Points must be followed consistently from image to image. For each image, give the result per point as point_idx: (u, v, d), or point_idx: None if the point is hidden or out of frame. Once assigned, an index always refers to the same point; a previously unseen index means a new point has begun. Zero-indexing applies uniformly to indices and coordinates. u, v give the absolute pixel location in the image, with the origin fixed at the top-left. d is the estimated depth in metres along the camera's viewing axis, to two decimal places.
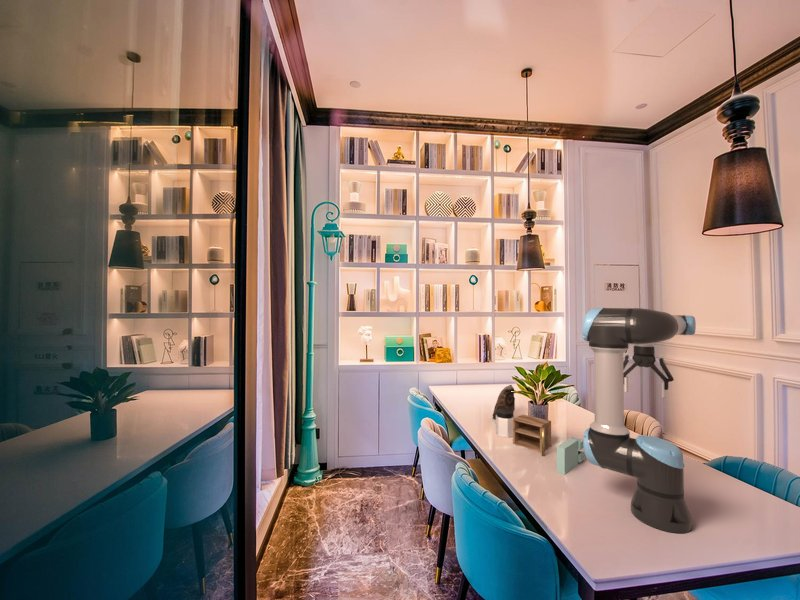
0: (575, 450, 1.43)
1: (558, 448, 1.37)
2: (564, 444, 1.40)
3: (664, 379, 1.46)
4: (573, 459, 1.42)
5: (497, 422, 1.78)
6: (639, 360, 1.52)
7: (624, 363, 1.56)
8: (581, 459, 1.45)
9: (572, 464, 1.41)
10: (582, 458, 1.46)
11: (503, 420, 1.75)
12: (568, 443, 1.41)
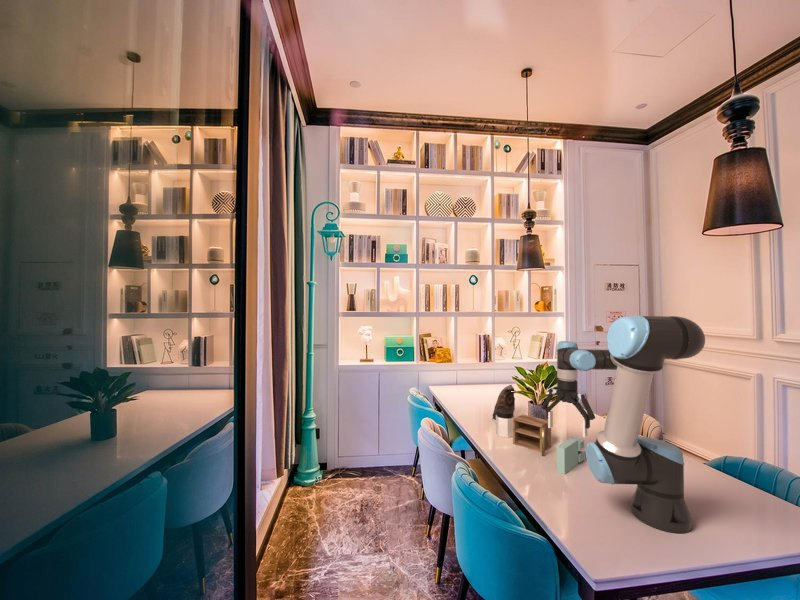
0: (575, 450, 1.43)
1: (558, 448, 1.37)
2: (564, 444, 1.40)
3: (585, 417, 1.36)
4: (573, 458, 1.42)
5: (497, 422, 1.78)
6: (562, 395, 1.42)
7: (548, 397, 1.47)
8: (581, 459, 1.45)
9: (572, 464, 1.41)
10: (582, 458, 1.46)
11: (503, 420, 1.75)
12: (568, 443, 1.41)
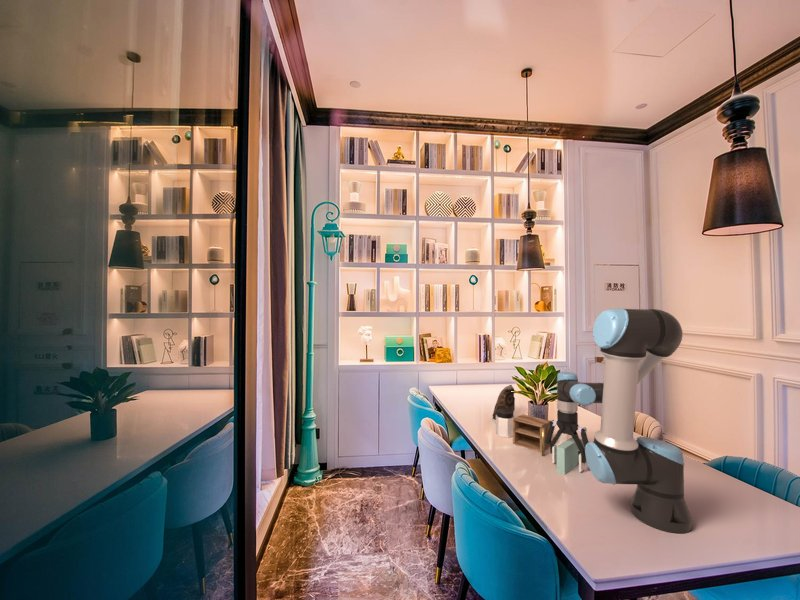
0: (575, 450, 1.43)
1: (558, 448, 1.37)
2: (564, 444, 1.40)
3: (581, 452, 1.36)
4: (573, 458, 1.42)
5: (497, 422, 1.78)
6: (562, 427, 1.41)
7: (550, 430, 1.46)
8: None
9: (572, 464, 1.41)
10: None
11: (503, 420, 1.75)
12: (568, 443, 1.41)
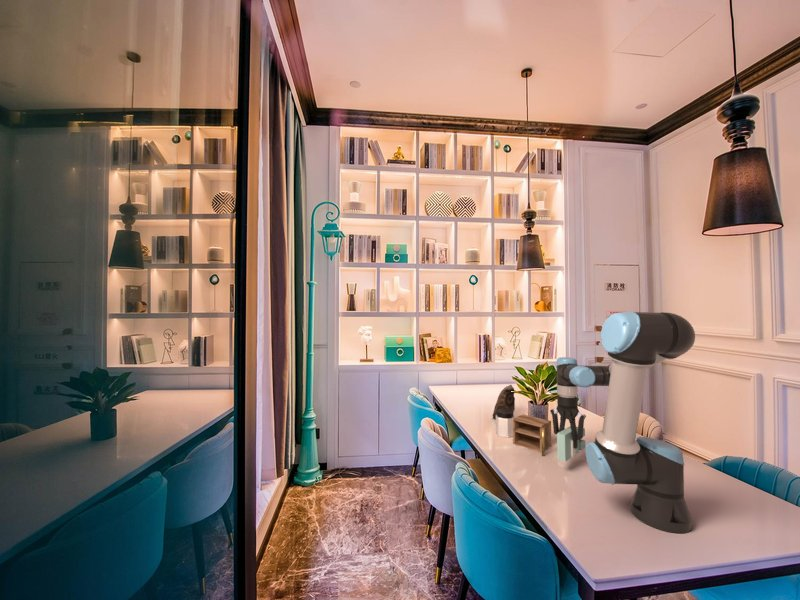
0: None
1: (558, 435, 1.37)
2: (564, 431, 1.40)
3: (573, 437, 1.38)
4: None
5: (497, 422, 1.78)
6: (562, 412, 1.41)
7: (553, 419, 1.44)
8: (582, 447, 1.45)
9: None
10: (583, 446, 1.46)
11: (503, 420, 1.75)
12: (569, 431, 1.41)
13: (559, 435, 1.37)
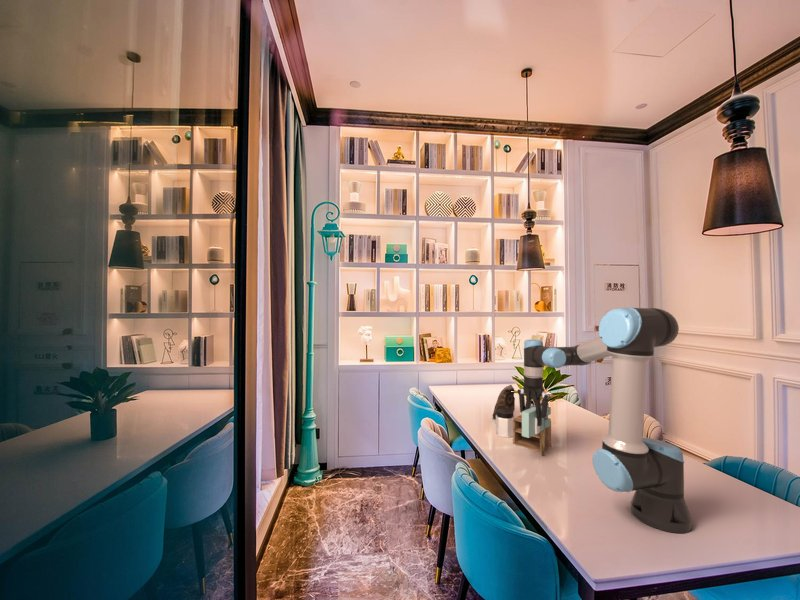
0: None
1: (523, 413, 1.43)
2: (529, 409, 1.46)
3: (538, 415, 1.44)
4: None
5: (497, 422, 1.78)
6: (528, 391, 1.47)
7: (520, 398, 1.50)
8: (547, 425, 1.51)
9: None
10: (548, 424, 1.52)
11: (503, 420, 1.75)
12: (534, 409, 1.47)
13: (524, 413, 1.43)
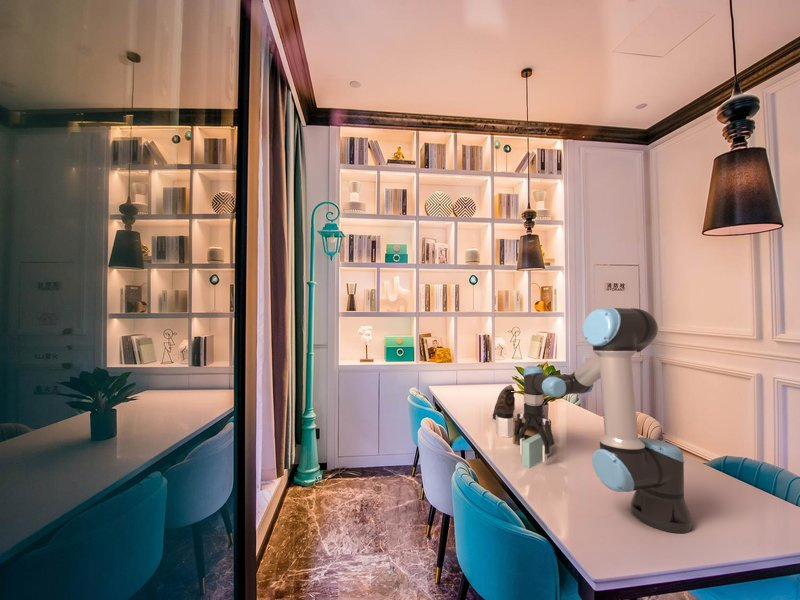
0: (541, 445, 1.48)
1: (523, 443, 1.43)
2: (530, 439, 1.45)
3: (545, 443, 1.42)
4: (539, 453, 1.47)
5: (497, 422, 1.78)
6: (528, 419, 1.47)
7: (517, 422, 1.51)
8: (547, 454, 1.51)
9: (538, 458, 1.46)
10: (549, 453, 1.51)
11: (503, 420, 1.75)
12: (534, 438, 1.46)
13: (524, 443, 1.42)
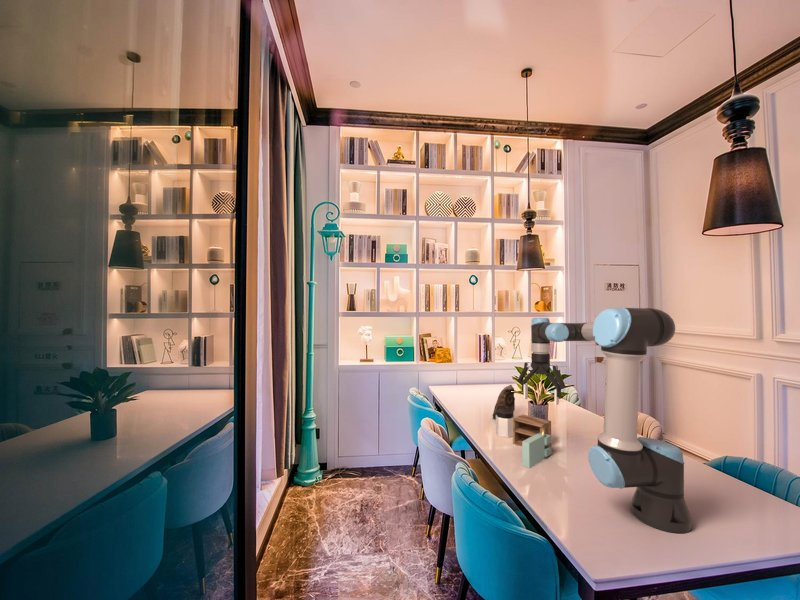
0: (541, 445, 1.48)
1: (523, 443, 1.43)
2: (530, 439, 1.45)
3: (556, 386, 1.46)
4: (539, 453, 1.47)
5: (497, 422, 1.78)
6: (535, 367, 1.52)
7: (523, 370, 1.57)
8: (547, 454, 1.51)
9: (538, 458, 1.46)
10: (549, 453, 1.51)
11: (503, 420, 1.75)
12: (534, 438, 1.46)
13: (524, 443, 1.42)
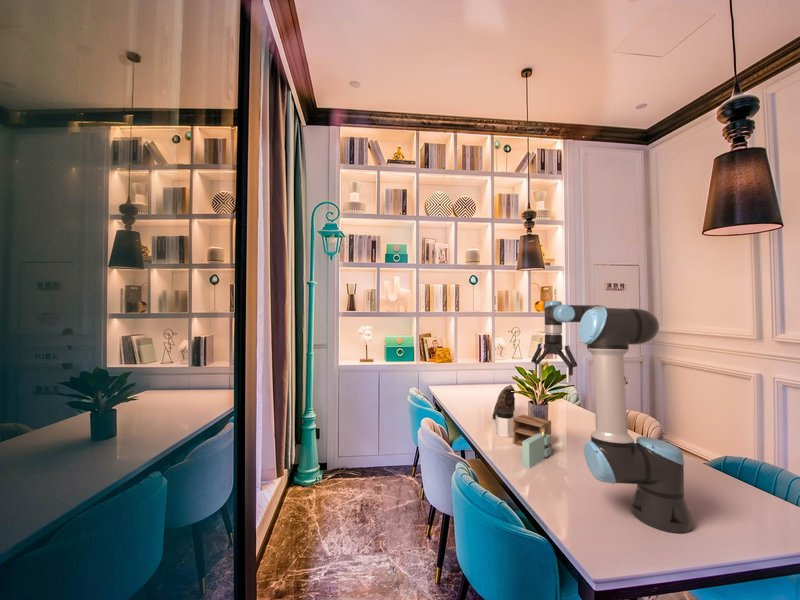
0: (541, 445, 1.48)
1: (523, 443, 1.43)
2: (530, 439, 1.45)
3: (568, 365, 1.56)
4: (539, 453, 1.47)
5: (497, 422, 1.78)
6: (548, 348, 1.62)
7: (537, 351, 1.66)
8: (547, 454, 1.51)
9: (538, 458, 1.46)
10: (549, 453, 1.51)
11: (503, 420, 1.75)
12: (534, 438, 1.46)
13: (524, 443, 1.42)
